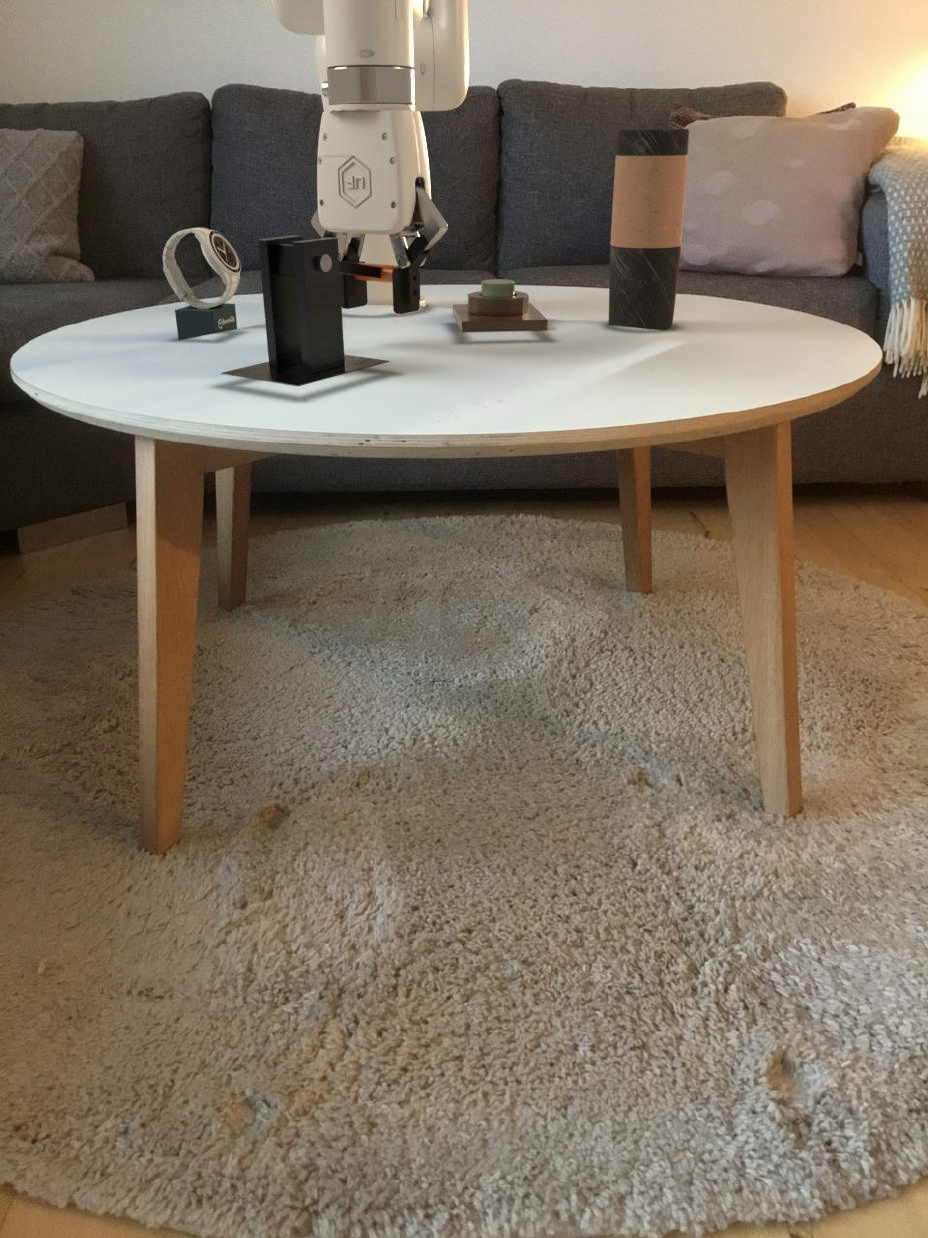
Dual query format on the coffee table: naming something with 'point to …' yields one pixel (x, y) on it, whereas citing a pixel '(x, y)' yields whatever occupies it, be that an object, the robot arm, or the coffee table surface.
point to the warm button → (498, 288)
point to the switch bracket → (303, 315)
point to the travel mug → (647, 226)
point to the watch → (198, 314)
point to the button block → (498, 314)
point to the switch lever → (357, 269)
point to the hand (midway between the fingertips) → (380, 307)
